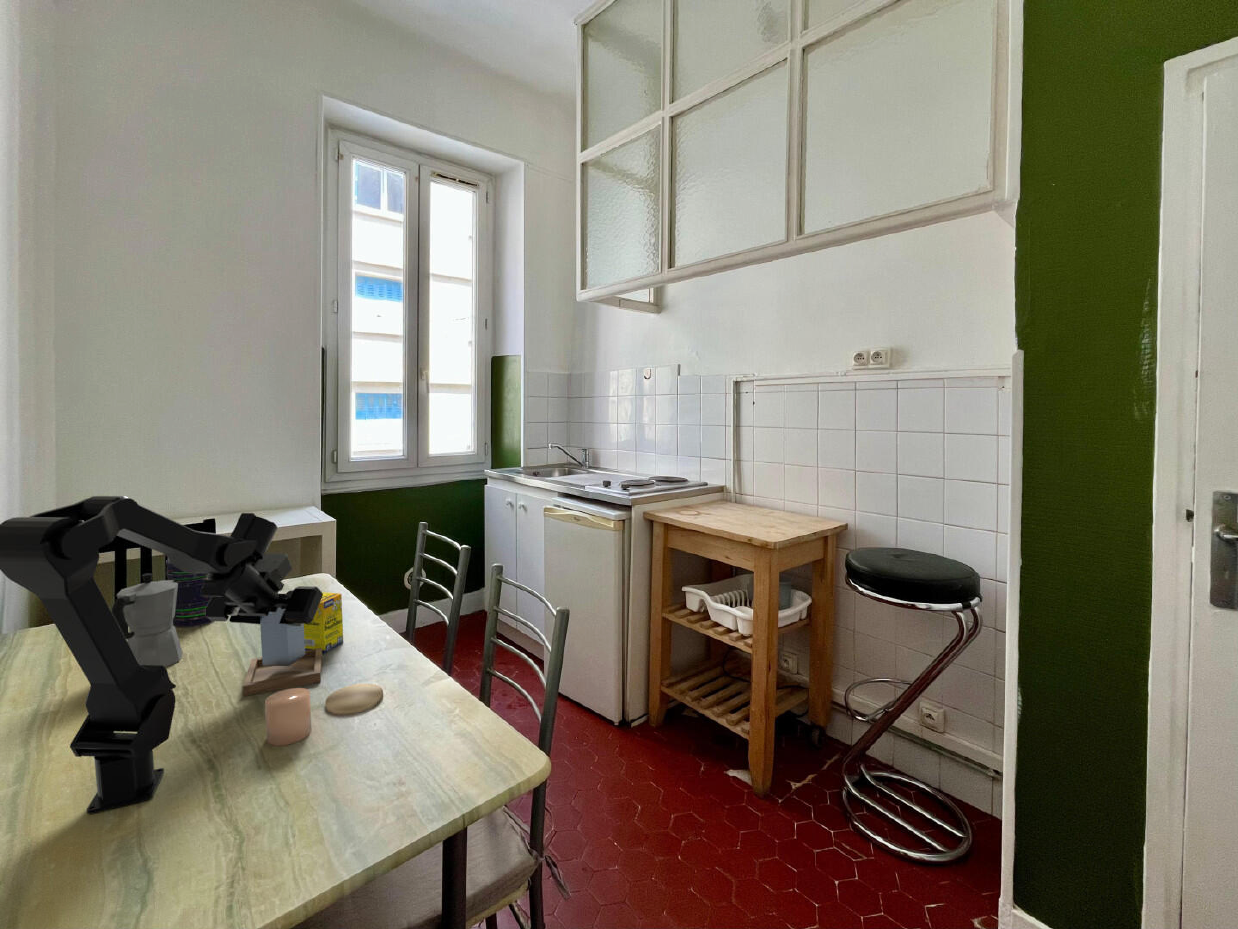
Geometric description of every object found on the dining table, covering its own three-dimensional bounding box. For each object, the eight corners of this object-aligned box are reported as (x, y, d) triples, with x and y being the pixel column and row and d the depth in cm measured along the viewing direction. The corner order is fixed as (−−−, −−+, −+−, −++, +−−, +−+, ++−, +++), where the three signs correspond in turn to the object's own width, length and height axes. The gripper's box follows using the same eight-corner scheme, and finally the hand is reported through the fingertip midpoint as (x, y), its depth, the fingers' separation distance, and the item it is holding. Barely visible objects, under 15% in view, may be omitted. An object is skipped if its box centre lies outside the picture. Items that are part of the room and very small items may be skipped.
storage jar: (230, 617, 138) (226, 556, 136) (181, 631, 129) (176, 565, 128) (210, 609, 143) (206, 550, 141) (163, 622, 135) (157, 559, 133)
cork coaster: (385, 707, 97) (384, 702, 97) (325, 719, 93) (325, 714, 93) (381, 683, 105) (381, 679, 105) (326, 694, 101) (325, 690, 101)
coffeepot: (152, 649, 120) (145, 564, 118) (200, 647, 120) (194, 563, 119) (92, 685, 104) (83, 588, 102) (148, 683, 105) (140, 587, 103)
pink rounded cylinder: (313, 738, 88) (311, 700, 88) (267, 750, 85) (265, 711, 84) (309, 720, 93) (308, 684, 93) (266, 731, 90) (264, 694, 89)
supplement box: (325, 654, 118) (322, 602, 116) (299, 651, 119) (296, 600, 118) (344, 642, 123) (342, 593, 122) (320, 640, 125) (317, 591, 123)
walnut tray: (320, 682, 106) (320, 672, 106) (243, 696, 101) (242, 686, 100) (322, 656, 117) (321, 647, 116) (252, 668, 111) (251, 659, 111)
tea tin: (289, 666, 105) (285, 599, 104) (261, 665, 106) (257, 599, 104) (306, 654, 111) (302, 590, 109) (279, 653, 111) (276, 590, 110)
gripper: (314, 543, 101) (349, 585, 113) (212, 542, 102) (258, 583, 114) (288, 602, 94) (329, 640, 106) (179, 599, 95) (231, 637, 107)
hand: (287, 623), depth 109 cm, fingers closed on tea tin, 5 cm apart
